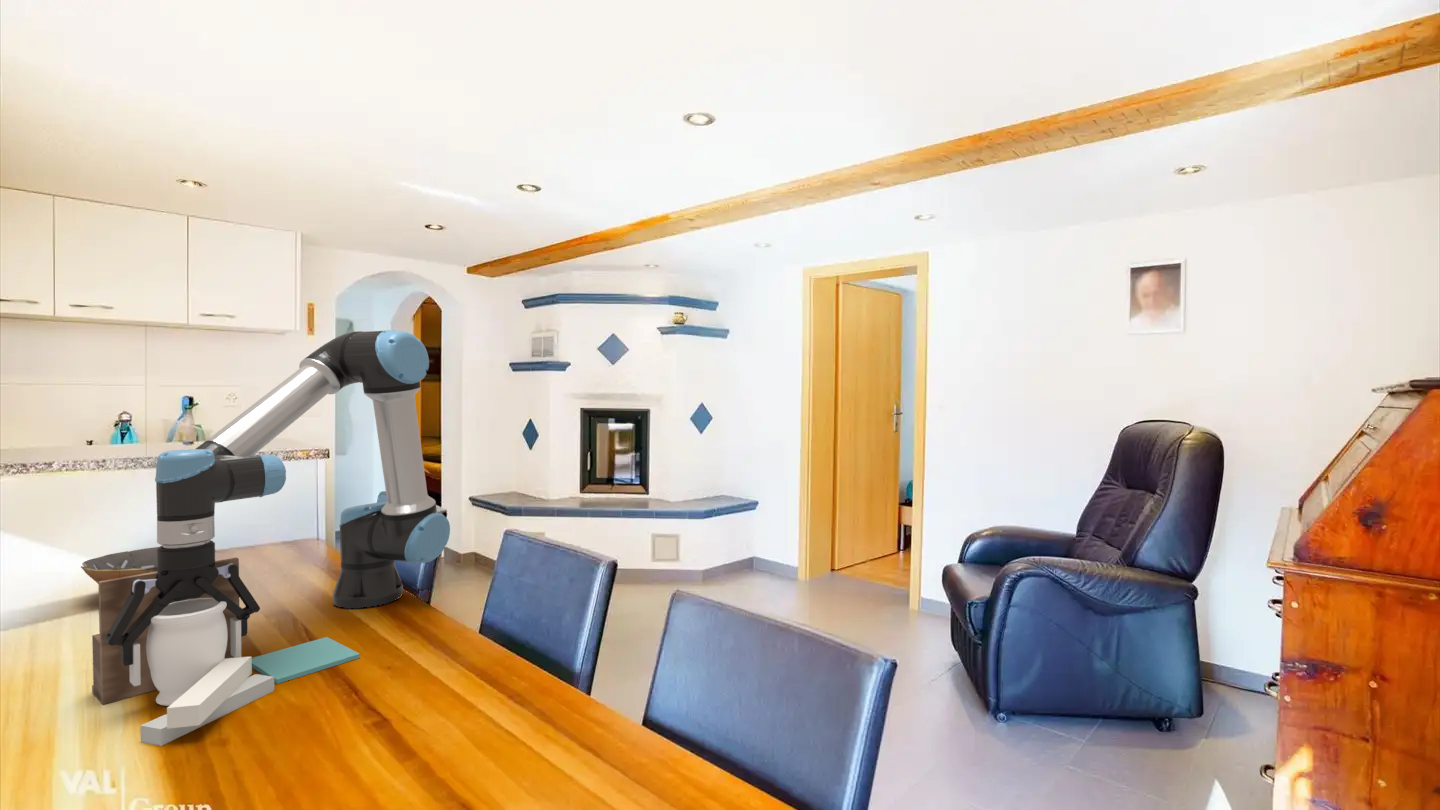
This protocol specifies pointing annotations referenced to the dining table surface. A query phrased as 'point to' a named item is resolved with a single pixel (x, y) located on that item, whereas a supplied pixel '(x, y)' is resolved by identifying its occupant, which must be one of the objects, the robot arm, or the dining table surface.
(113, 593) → the wood grain panel
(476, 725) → the dining table surface
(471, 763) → the dining table surface
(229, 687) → the offcut top
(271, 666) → the mat
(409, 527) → the robot arm
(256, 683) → the offcut low
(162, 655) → the jar
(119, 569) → the bowl
